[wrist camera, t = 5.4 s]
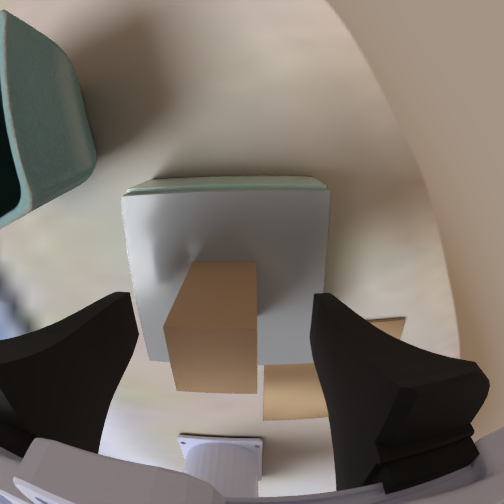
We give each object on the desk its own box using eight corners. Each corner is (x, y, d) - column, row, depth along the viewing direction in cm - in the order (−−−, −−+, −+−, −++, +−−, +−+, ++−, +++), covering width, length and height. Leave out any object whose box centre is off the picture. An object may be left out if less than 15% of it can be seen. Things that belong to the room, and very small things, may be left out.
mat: (373, 408, 23) (374, 410, 23) (263, 417, 23) (263, 420, 23) (403, 317, 19) (405, 319, 19) (265, 324, 19) (265, 327, 19)
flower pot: (6, 109, 14) (-88, 116, 6) (99, 46, 13) (4, 3, 5) (33, 219, 17) (-57, 269, 9) (133, 173, 16) (35, 209, 8)
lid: (311, 353, 16) (330, 436, 11) (153, 351, 16) (122, 428, 11) (326, 189, 13) (375, 224, 7) (127, 193, 13) (56, 229, 7)
